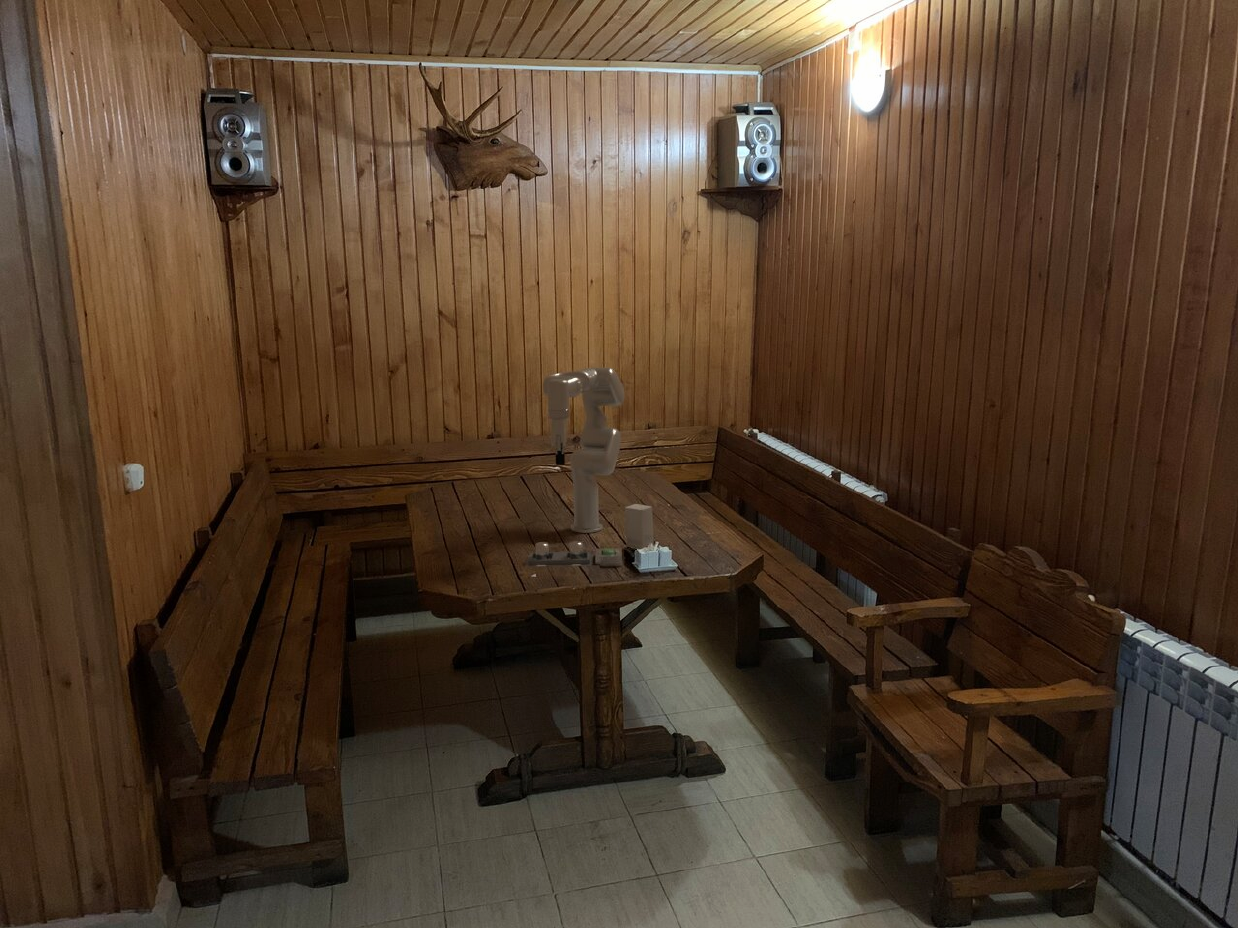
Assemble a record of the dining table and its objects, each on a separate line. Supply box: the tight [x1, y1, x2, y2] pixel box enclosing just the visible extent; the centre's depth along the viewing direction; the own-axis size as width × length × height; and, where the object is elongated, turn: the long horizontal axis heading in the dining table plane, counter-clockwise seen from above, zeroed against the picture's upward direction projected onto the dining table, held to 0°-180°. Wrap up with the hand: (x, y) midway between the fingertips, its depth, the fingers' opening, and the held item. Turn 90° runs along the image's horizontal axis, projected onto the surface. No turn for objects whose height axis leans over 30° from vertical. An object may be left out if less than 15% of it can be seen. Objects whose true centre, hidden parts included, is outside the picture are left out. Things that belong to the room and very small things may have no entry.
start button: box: [603, 548, 615, 555], centre depth 311 cm, size 4×4×3 cm
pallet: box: [524, 551, 594, 568], centre depth 311 cm, size 13×23×2 cm, turn 90°
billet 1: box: [534, 541, 550, 560], centre depth 311 cm, size 4×4×6 cm
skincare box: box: [624, 503, 654, 548], centre depth 326 cm, size 8×7×16 cm
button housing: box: [595, 547, 623, 567], centre depth 311 cm, size 9×9×4 cm
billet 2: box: [569, 540, 584, 559], centre depth 311 cm, size 4×4×6 cm
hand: (560, 464), depth 323 cm, fingers closed
